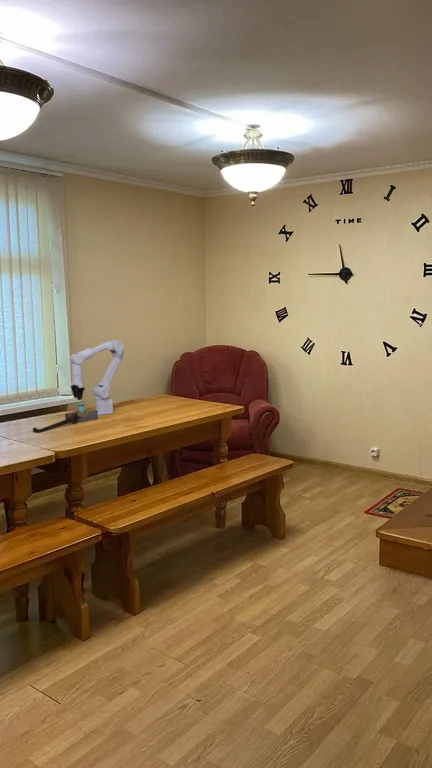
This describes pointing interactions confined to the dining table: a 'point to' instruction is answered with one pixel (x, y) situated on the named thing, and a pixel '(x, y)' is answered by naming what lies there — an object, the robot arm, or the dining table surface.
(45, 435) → the dining table surface
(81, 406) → the pin
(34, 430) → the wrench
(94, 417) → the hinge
